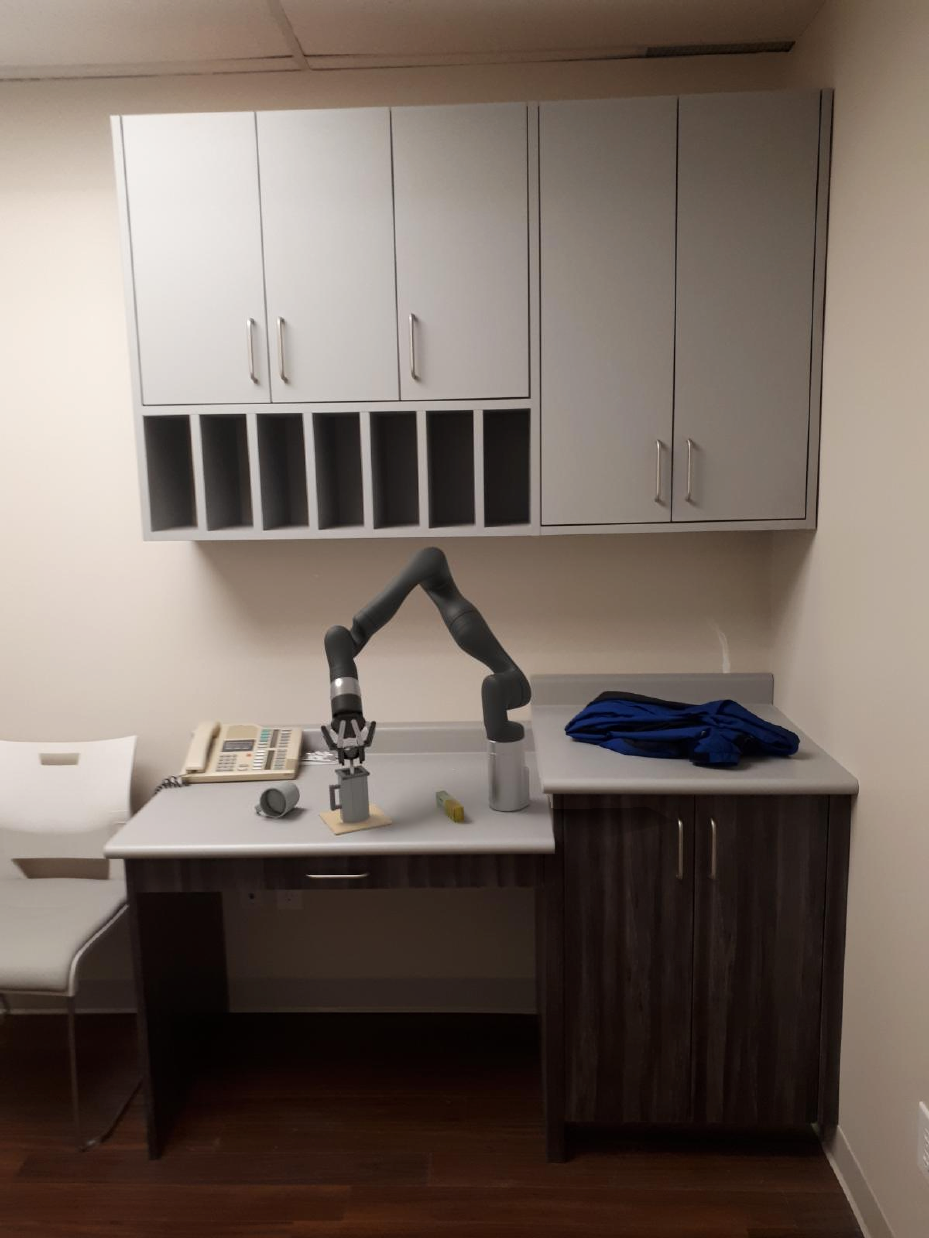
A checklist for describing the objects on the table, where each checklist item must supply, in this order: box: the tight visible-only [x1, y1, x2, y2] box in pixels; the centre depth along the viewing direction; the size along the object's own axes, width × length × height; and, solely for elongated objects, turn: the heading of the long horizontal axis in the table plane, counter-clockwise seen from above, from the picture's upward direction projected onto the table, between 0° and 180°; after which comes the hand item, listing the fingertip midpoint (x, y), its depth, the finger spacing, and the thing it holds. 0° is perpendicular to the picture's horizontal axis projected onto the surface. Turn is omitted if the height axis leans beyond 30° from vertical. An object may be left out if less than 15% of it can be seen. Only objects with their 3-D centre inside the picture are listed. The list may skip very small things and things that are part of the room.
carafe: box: [318, 764, 393, 836], centre depth 215 cm, size 14×14×12 cm
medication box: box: [435, 790, 466, 824], centre depth 217 cm, size 12×3×4 cm, turn 24°
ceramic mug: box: [254, 780, 301, 819], centre depth 223 cm, size 11×8×8 cm
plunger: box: [343, 744, 359, 775], centre depth 214 cm, size 4×4×14 cm
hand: (351, 763), depth 212 cm, fingers closed on plunger, 3 cm apart
